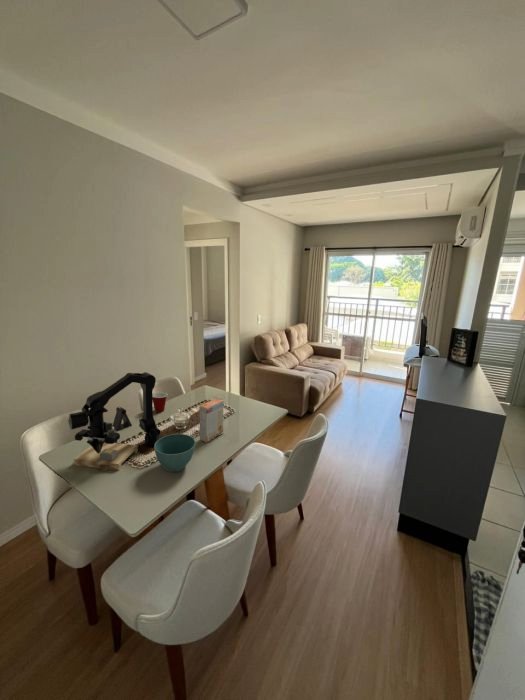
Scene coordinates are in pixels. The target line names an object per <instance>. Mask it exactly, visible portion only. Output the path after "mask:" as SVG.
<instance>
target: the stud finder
mask: <svg viewBox="0 0 525 700" xmlns="http://www.w3.org/2000/svg"><path fill="white" fill-rule="evenodd" d="M117 456H118V455H117V450H111V449H105V450H103V451H102V452H101V453H100V459H101V460H110V461H113V460H114V459H115V458H116V457H117Z"/></svg>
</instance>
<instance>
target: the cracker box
mask: <svg viewBox="0 0 525 700" xmlns="http://www.w3.org/2000/svg"><path fill="white" fill-rule="evenodd" d="M198 408H199V410H198V411H199V441H201V440H202V442H203V441H204V443H206V444H207V442H208V443H209V442H211V441H212V440H211V439H213V438H214V437H216V436H218V435H219V434H221V433H222V432H223V433H224V400H221V399H218V398H215V399H213V400H210V401H207V402H206V403H203V404H201V405H199V407H198ZM221 435H222V434H221ZM219 436H220V435H219ZM219 436H218V437H219ZM216 438H217V437H216ZM214 439H215V438H214ZM214 439H213V440H214ZM210 440H211V441H210Z"/></svg>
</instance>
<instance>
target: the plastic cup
mask: <svg viewBox="0 0 525 700" xmlns="http://www.w3.org/2000/svg"><path fill="white" fill-rule="evenodd" d="M152 395H153V407H154V408H153V410H154V411H155V413H163V412H164V411H165V408H166V401H167V398H168V393H167V392H161V391H160V392H152Z"/></svg>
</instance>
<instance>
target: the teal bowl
mask: <svg viewBox="0 0 525 700" xmlns="http://www.w3.org/2000/svg"><path fill="white" fill-rule="evenodd" d="M195 448H196V440H195V439H194V437H193V436H191V435H188V434H184V433H183V434H182V433H172V434H169V435H168V434H167V435H165V436H163V437H161V438H159V440H158V441H157V442H156V443H155V447H154V453H155V455H156V459H157V460H158V463H159V464H160V466H161V467H162V468H164V469H165V470H166V471H167V472H170V473H176V472H180V471H182V470H183V469H184V468H185V467H186V466H187V465H188V464H189V463H190V461H191V459H192V457H193V455H194V452H195Z"/></svg>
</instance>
